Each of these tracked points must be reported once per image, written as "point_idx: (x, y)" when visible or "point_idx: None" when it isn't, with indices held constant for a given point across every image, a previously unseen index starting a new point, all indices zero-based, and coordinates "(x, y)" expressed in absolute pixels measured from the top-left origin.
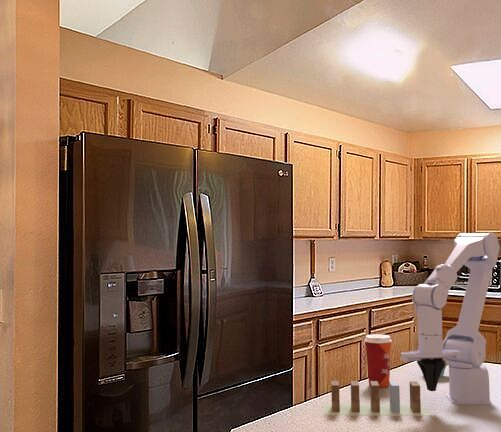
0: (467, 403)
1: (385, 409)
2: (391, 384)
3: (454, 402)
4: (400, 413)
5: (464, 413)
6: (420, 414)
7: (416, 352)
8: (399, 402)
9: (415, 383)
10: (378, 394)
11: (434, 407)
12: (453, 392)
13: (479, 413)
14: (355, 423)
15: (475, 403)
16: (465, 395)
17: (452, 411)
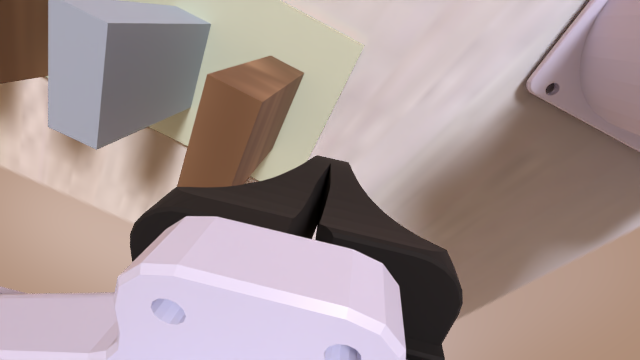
0: (592, 126)
1: None
2: (51, 99)
3: (535, 95)
4: (187, 120)
5: (445, 214)
6: (258, 167)
7: (2, 341)
8: (163, 118)
9: (221, 151)
10: (21, 76)
11: (397, 87)
12: (614, 54)
13: (499, 239)
14: (6, 133)
15: (628, 145)
16: (624, 127)
17: (423, 174)
